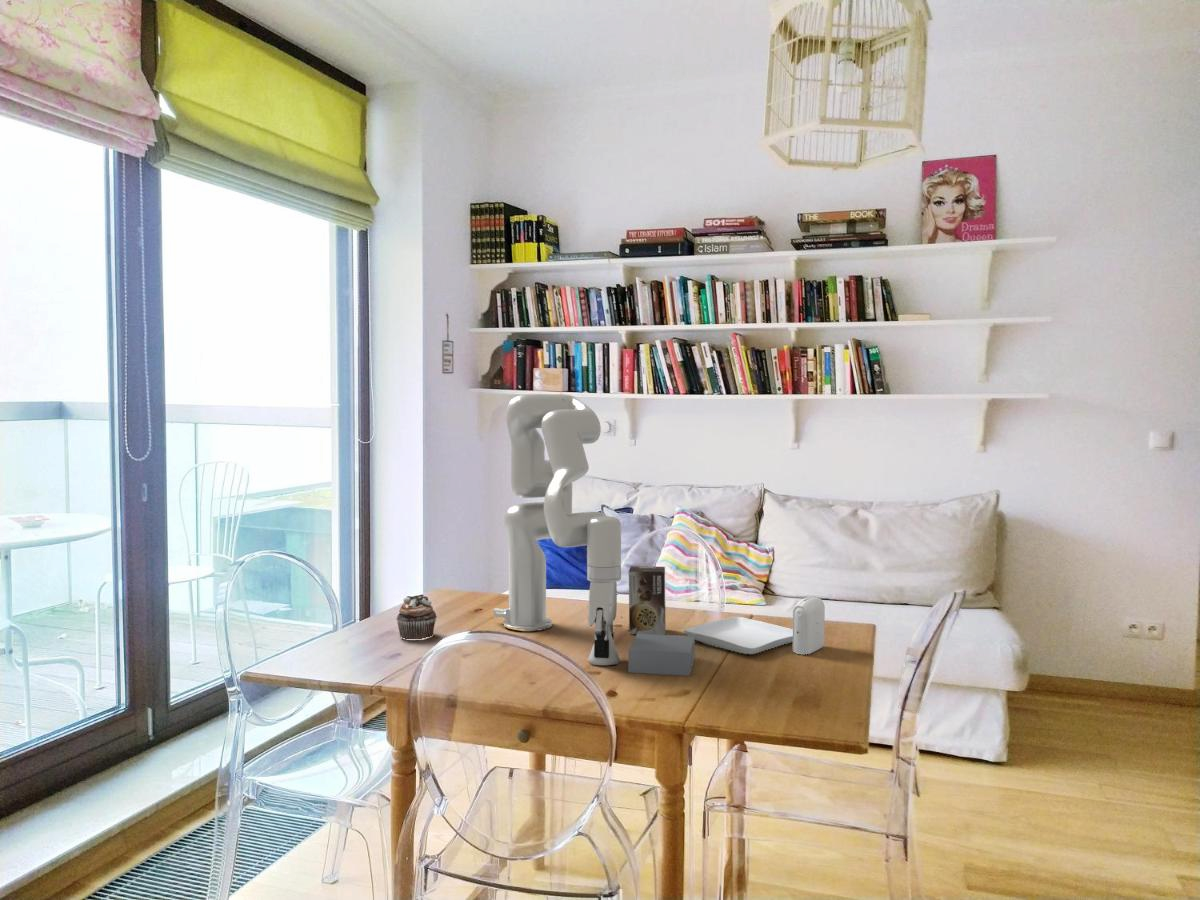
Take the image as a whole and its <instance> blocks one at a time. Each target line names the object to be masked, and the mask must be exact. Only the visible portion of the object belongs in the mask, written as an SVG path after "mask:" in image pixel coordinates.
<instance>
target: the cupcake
mask: <svg viewBox="0 0 1200 900" xmlns="http://www.w3.org/2000/svg"><path fill="white" fill-rule="evenodd" d="M398 612H399V613H398V614H397V617H396V623H397V627H398V631H399V637H400V638H401V637H402V638H405V639H422V638H426V637H430V636H432V635H433V636H434V632H435V631H434V630H435V625H436V622H437V613H436V611H435V610H434V609H433V605H432V600H431V599H429V597H427V596H424V594H419V595H414V596H410V595H409V596H408V595H407V596H406V597H403V604H402V605H401V606H400V608H399V609H398Z"/></svg>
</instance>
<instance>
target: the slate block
mask: <svg viewBox="0 0 1200 900" xmlns="http://www.w3.org/2000/svg"><path fill="white" fill-rule="evenodd" d="M695 642H696V641H695V636H688V635H677V634H675V635H674V634H671V635H670V634H665V635H656V634H637V635H636V636H634V639H633V641H632V642H631V644H630V646H629V647H628V662H627V663H628V665H627V666H628V673H633V674H648V675H665V676H683V677H684V676H685V677H690V675H691V671H692V668H693V665H694V662H693V661H695V645H696V644H695Z"/></svg>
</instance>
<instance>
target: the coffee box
mask: <svg viewBox="0 0 1200 900" xmlns="http://www.w3.org/2000/svg"><path fill="white" fill-rule="evenodd" d="M666 624H667V623H666V566H647V565H646V566H645V565H644V566H638V565H637V566H632V565H631V566H630V567H629V570H628V635H629V634H656V635H666V630H667V629H666V628H667V627H666Z"/></svg>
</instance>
